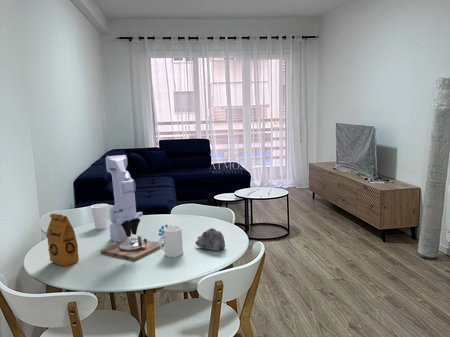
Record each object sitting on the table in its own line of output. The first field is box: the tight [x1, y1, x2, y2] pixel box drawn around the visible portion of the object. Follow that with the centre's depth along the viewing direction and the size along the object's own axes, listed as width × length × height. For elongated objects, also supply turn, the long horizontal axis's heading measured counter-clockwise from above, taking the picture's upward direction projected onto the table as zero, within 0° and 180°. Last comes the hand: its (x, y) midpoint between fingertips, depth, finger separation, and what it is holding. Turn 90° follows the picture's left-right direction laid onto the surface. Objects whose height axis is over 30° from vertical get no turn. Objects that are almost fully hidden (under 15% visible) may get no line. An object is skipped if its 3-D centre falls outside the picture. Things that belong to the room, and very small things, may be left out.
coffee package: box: [46, 213, 80, 267], centre depth 174 cm, size 10×12×22 cm
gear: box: [158, 224, 172, 239], centre depth 200 cm, size 11×6×10 cm
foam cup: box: [90, 203, 109, 230], centre depth 225 cm, size 10×9×13 cm
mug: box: [159, 225, 184, 258], centre depth 179 cm, size 12×8×12 cm
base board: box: [99, 236, 165, 262], centre depth 188 cm, size 22×20×4 cm
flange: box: [119, 235, 146, 251], centre depth 187 cm, size 14×12×6 cm
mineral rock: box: [194, 227, 226, 252], centre depth 186 cm, size 13×11×10 cm
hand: (131, 235), depth 180 cm, fingers open, 3 cm apart
